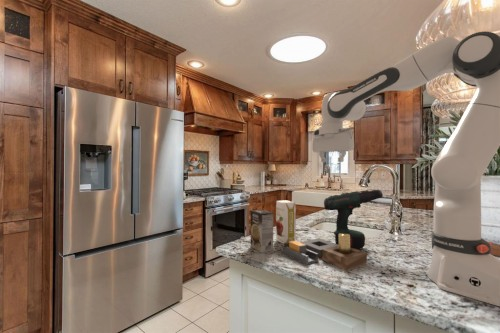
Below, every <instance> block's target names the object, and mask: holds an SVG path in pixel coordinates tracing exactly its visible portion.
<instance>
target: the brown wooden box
mask: <svg viewBox="0 0 500 333" xmlns="http://www.w3.org/2000/svg"><path fill="white" fill-rule="evenodd" d="M321 260H322V261H324V262H327V263H329V264H331V265H334V266H335V267H338V268H340V269H342V270H345V271H349V270H352V269H356V268H358V267H361V266H365V265H367V263H368V252H366V251H363V250H361V249H360V250H357V249H354V248H351V247H350V254H347V255H344V254H342V253H339V245H337V246H333V247H329V248H325V249H322V257H321Z"/></svg>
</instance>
